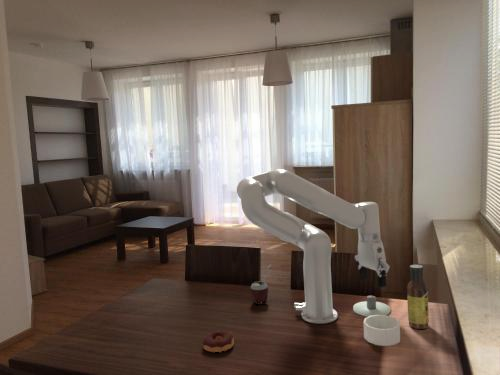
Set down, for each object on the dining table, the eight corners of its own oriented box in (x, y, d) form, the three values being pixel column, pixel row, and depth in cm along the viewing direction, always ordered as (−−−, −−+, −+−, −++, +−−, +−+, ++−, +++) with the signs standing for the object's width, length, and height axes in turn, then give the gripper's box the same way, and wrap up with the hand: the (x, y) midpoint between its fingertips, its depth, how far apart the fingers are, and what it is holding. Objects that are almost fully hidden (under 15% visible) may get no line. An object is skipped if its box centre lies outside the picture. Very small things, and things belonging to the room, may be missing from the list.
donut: (197, 346, 130) (196, 334, 130) (222, 336, 136) (222, 324, 136) (214, 358, 122) (213, 345, 122) (240, 347, 128) (239, 334, 128)
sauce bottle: (431, 330, 130) (429, 269, 128) (410, 329, 131) (408, 269, 129) (426, 321, 136) (424, 263, 134) (406, 321, 138) (404, 263, 136)
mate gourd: (248, 304, 161) (245, 267, 160) (258, 297, 168) (255, 262, 166) (264, 307, 157) (261, 269, 156) (274, 300, 164) (271, 264, 162)
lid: (351, 316, 145) (350, 302, 145) (355, 302, 157) (355, 289, 157) (389, 319, 140) (389, 305, 140) (391, 305, 152) (390, 292, 152)
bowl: (362, 343, 125) (362, 327, 124) (366, 328, 134) (365, 313, 134) (399, 347, 121) (399, 331, 120) (400, 331, 130) (400, 316, 130)
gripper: (395, 238, 140) (398, 287, 141) (362, 231, 155) (365, 274, 157) (377, 243, 137) (381, 292, 139) (345, 234, 153) (349, 279, 154)
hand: (372, 282), depth 148 cm, fingers open, 9 cm apart
